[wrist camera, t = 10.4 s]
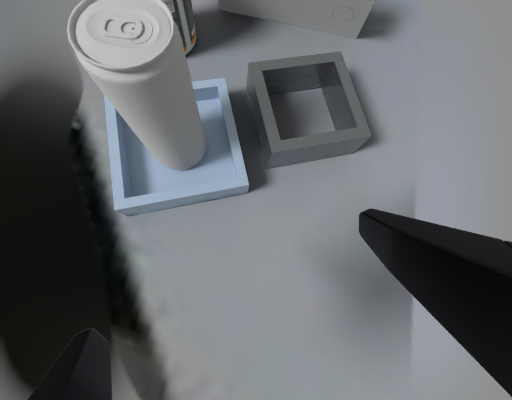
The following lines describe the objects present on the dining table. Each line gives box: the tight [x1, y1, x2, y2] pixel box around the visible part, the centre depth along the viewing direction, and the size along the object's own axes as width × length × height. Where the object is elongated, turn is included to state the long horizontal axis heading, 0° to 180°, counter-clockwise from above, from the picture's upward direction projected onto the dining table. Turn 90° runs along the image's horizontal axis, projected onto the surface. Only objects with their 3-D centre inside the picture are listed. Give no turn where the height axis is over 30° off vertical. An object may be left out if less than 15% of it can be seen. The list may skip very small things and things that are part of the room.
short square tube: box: [247, 52, 372, 169], centre depth 23 cm, size 9×9×4 cm
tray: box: [104, 78, 249, 216], centre depth 22 cm, size 11×11×2 cm
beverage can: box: [67, 0, 206, 170], centre depth 17 cm, size 5×5×12 cm
